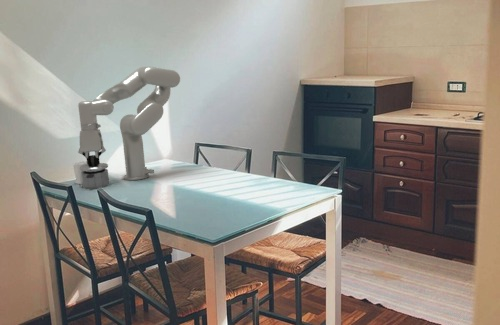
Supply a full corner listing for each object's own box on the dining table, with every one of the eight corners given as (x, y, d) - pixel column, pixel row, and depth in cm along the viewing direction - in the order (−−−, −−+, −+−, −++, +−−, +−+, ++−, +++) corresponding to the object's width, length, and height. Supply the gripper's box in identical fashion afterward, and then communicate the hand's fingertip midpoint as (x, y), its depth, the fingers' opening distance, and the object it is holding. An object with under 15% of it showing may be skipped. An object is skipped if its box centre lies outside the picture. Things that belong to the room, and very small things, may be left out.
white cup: (87, 184, 261) (84, 164, 259) (72, 184, 262) (70, 164, 260) (95, 180, 268) (92, 161, 266) (80, 180, 270) (78, 161, 268)
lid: (111, 167, 263) (109, 152, 261) (104, 173, 250) (102, 157, 249) (84, 168, 263) (83, 153, 262) (76, 174, 250) (74, 159, 249)
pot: (113, 180, 267) (111, 166, 265) (103, 189, 250) (101, 174, 248) (88, 181, 267) (87, 167, 265) (77, 190, 250) (76, 176, 248)
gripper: (108, 125, 256) (112, 163, 260) (74, 127, 256) (79, 164, 260) (104, 127, 249) (108, 166, 252) (69, 129, 249) (74, 168, 253)
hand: (93, 165), depth 256 cm, fingers closed on lid, 2 cm apart
